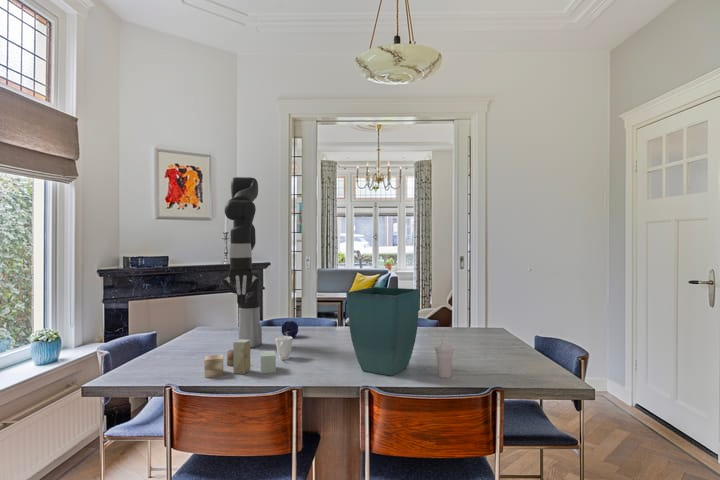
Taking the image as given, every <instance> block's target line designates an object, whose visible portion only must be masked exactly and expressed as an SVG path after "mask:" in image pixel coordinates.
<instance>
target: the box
mask: <svg viewBox="0 0 720 480" xmlns="http://www.w3.org/2000/svg"><path fill="white" fill-rule="evenodd" d="M232 343H233V349H232V350H233V366H232V367H233V368H232V369H233V374H239V375H241V374H242V375H244V374H247V373H248V372H249V371H251V348H250V340H244V339H240V340H239V339H238V340H235V341H234V342H232Z"/></svg>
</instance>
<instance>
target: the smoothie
mask: <svg viewBox="0 0 720 480" xmlns="http://www.w3.org/2000/svg"><path fill="white" fill-rule="evenodd" d="M444 343H445V342H444V334H443V333H442V334H441V345H436V346H435V347H434V351H435V353H436V361H437V369H438V376H439V378H440V377H441V378H443V379H444V378H450V377H451V373H452V364H453V356H454V352H455V348H454V346H451V345H446V344H444Z"/></svg>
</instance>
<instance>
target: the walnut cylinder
mask: <svg viewBox="0 0 720 480" xmlns="http://www.w3.org/2000/svg"><path fill="white" fill-rule="evenodd" d="M226 365H227V367H233V349H229V350H227V352H226Z"/></svg>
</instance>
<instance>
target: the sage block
mask: <svg viewBox="0 0 720 480" xmlns="http://www.w3.org/2000/svg"><path fill="white" fill-rule="evenodd" d="M259 354H260V355H259V357H260V358H259V359H260V360H259V363H260V374H267V373H269V374H270V373H271V374H272V373H277V372H276V371H277V370H276V369H277V367H276V365H277V364H276V363H277V361H276V359H277V357H276V353H275V350H267V351H265V350H264V351H260V352H259Z"/></svg>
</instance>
